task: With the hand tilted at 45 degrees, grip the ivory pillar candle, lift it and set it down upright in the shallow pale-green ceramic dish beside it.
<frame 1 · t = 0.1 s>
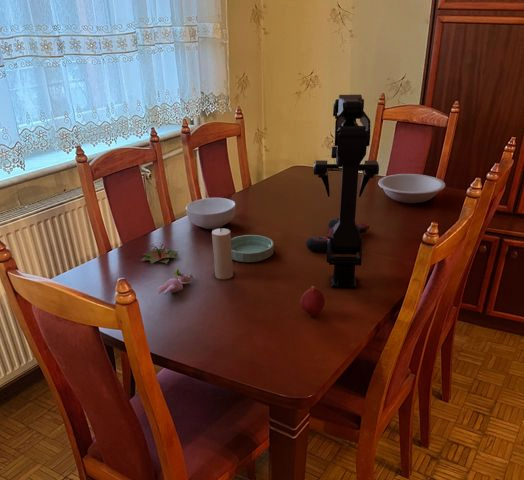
hand: (344, 196, 163), 15 cm above the table, tool pointing down, fingers open, 9 cm apart
soup bowl: (409, 200, 203), on the table
toy motorcycle: (341, 242, 172), on the table
cereal bowl: (212, 225, 187), on the table
candle: (224, 275, 154), on the table
candle dish: (250, 253, 166), on the table
onion: (312, 315, 134), on the table
lily flower: (160, 258, 165), on the table
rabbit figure: (176, 291, 147), on the table
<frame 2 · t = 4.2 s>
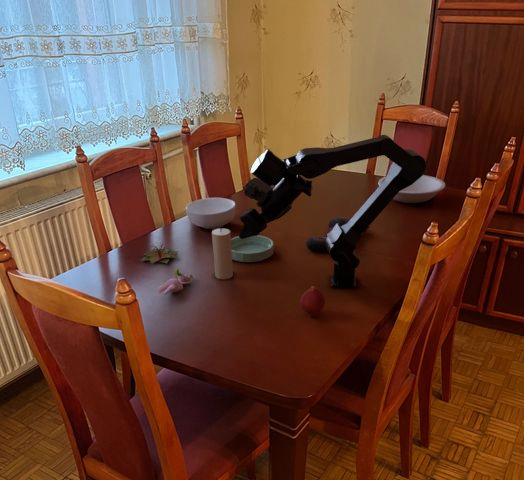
hand: (248, 231, 145), 14 cm above the table, tool tilted 45°, fingers open, 9 cm apart
nothing on the table moved.
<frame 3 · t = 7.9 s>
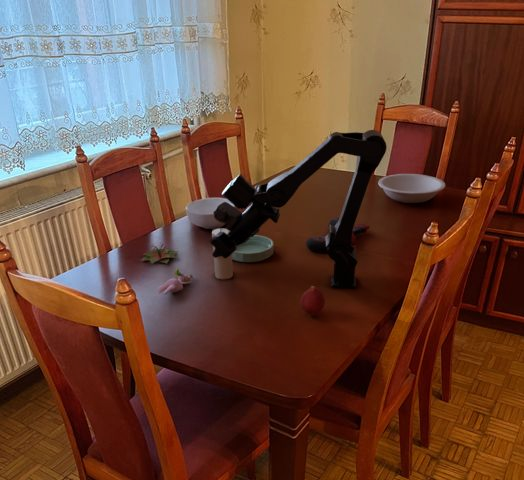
hand: (218, 252, 150), 7 cm above the table, tool tilted 45°, fingers closed on candle, 5 cm apart
candle: (224, 275, 154), on the table, touching gripper
everything else where it was.
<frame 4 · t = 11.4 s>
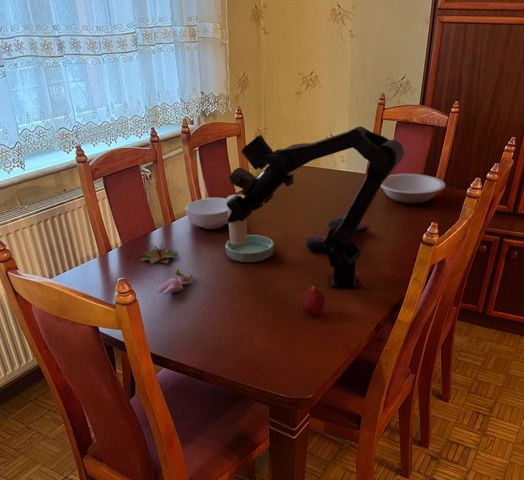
hand: (233, 218, 154), 13 cm above the table, tool tilted 45°, fingers closed on candle, 5 cm apart
candle: (238, 241, 157), point 7 cm above the table, touching gripper
everything else where it was.
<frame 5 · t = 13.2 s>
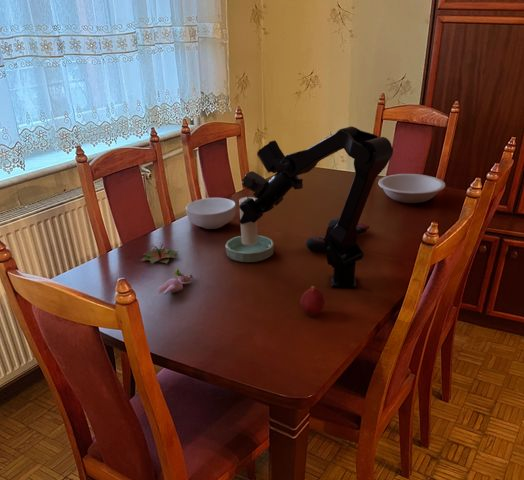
hand: (244, 219, 160), 11 cm above the table, tool tilted 45°, fingers closed on candle, 5 cm apart
candle: (249, 242, 164), point 4 cm above the table, touching gripper
everything else where it was.
when the fingers open (7 cm above the table, at t = 14.7 s): candle stays where it is, resting on candle dish.
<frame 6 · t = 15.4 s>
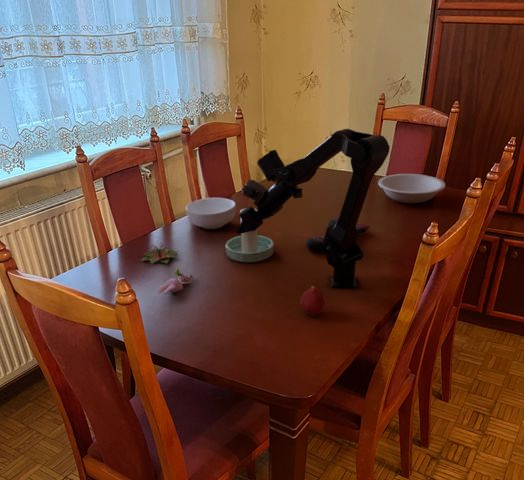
hand: (244, 227, 162), 8 cm above the table, tool tilted 45°, fingers open, 9 cm apart
candle: (250, 252, 166), resting on candle dish
everything else where it was.
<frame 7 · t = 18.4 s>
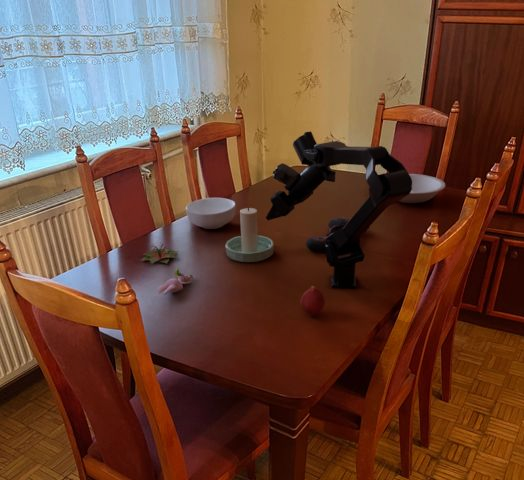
hand: (273, 213, 155), 14 cm above the table, tool tilted 45°, fingers open, 9 cm apart
nothing on the table moved.
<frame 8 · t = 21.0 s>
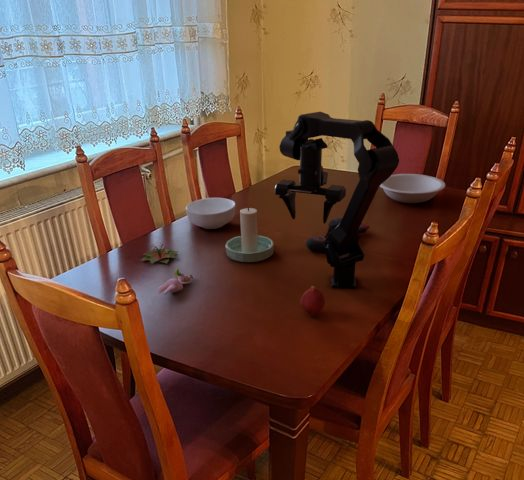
hand: (309, 220, 152), 13 cm above the table, tool pointing down, fingers open, 9 cm apart
nothing on the table moved.
at the end: candle inside the target area in the candle dish (0.1 cm from its centre), point 0.5 cm above the candle dish's base; candle tilted 0°; the gripper is holding nothing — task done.
